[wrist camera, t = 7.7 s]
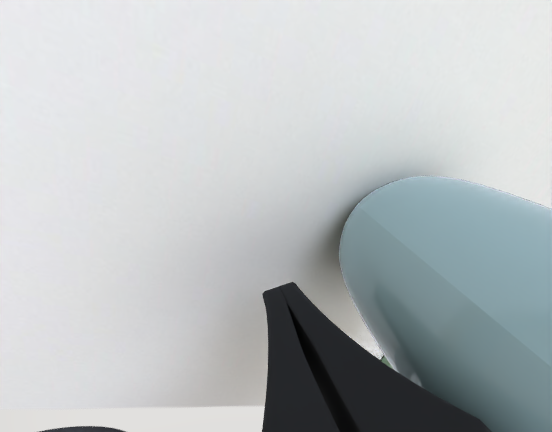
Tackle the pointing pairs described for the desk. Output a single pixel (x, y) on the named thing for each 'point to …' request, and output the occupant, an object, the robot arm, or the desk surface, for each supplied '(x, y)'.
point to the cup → (458, 294)
